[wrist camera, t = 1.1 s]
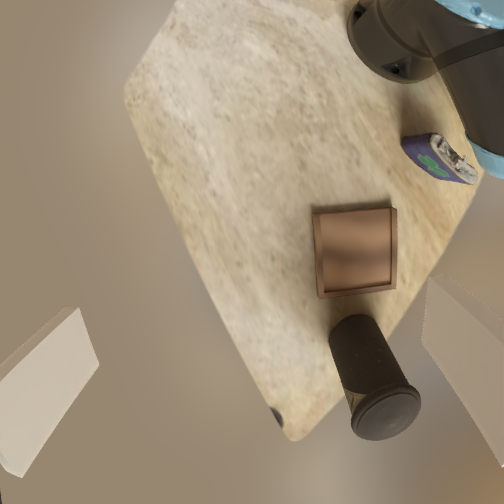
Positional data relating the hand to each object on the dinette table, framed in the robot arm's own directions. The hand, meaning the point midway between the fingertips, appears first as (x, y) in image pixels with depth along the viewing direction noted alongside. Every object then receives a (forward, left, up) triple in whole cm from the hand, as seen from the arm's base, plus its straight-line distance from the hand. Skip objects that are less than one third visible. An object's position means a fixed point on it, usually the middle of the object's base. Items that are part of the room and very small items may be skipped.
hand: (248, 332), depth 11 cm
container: (-2, +26, -35) cm, 43 cm away
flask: (-24, +6, -35) cm, 43 cm away
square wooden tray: (-8, +13, -35) cm, 38 cm away
